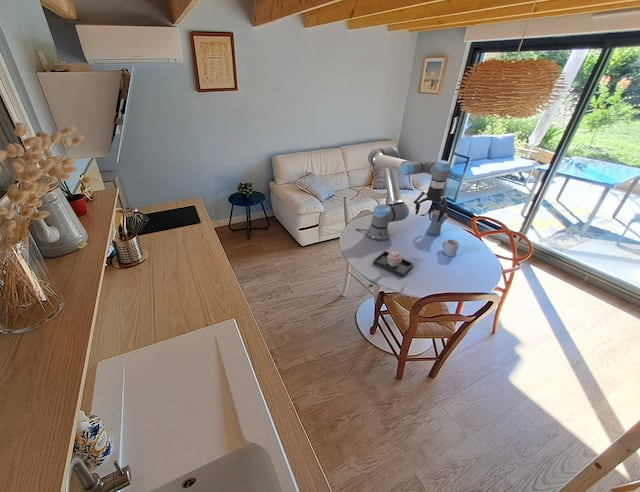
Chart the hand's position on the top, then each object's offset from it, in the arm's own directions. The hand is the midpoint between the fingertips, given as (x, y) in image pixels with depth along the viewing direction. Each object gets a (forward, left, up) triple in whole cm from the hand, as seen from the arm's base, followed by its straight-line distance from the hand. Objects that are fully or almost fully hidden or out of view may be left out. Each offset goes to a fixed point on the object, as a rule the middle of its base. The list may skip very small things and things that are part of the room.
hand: (427, 217), depth 181 cm
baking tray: (-5, -26, -27) cm, 38 cm away
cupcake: (-5, -26, -26) cm, 37 cm away
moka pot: (-2, +32, -27) cm, 42 cm away
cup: (+15, +13, -27) cm, 33 cm away
